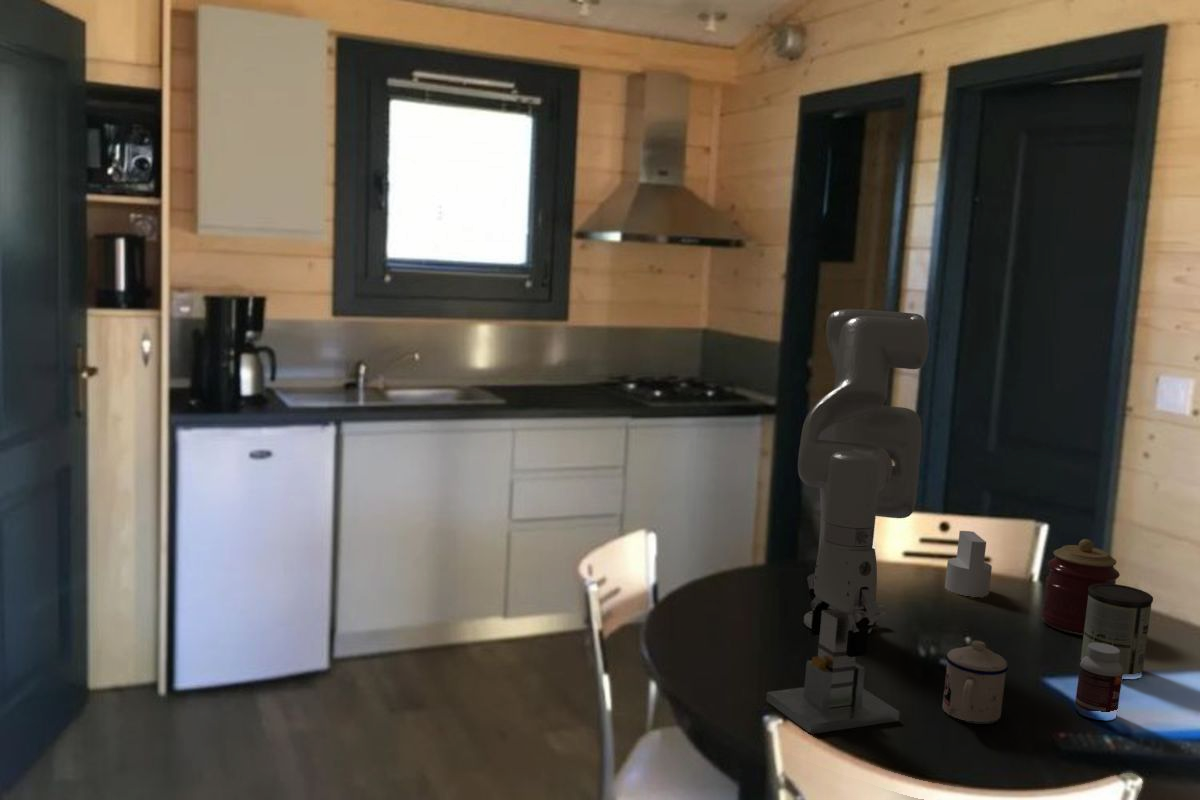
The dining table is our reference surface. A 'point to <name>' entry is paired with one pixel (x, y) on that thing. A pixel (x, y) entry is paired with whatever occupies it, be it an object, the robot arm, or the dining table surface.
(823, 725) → the stand
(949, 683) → the teacup with lid
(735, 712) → the dining table surface
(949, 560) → the cylinder with rectangular tab
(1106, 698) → the pill bottle
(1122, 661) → the coffee can
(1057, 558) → the canister
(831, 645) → the column
